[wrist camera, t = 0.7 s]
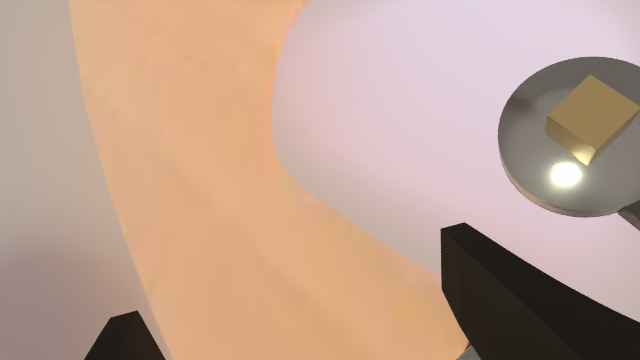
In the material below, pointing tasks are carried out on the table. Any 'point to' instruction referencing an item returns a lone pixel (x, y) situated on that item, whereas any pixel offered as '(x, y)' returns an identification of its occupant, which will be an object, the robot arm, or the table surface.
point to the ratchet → (576, 138)
